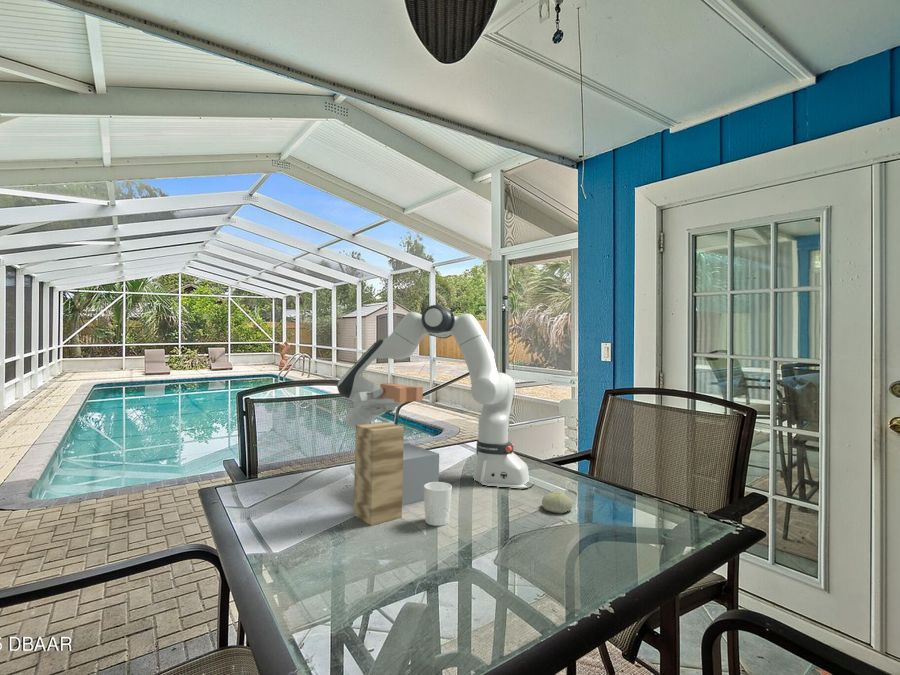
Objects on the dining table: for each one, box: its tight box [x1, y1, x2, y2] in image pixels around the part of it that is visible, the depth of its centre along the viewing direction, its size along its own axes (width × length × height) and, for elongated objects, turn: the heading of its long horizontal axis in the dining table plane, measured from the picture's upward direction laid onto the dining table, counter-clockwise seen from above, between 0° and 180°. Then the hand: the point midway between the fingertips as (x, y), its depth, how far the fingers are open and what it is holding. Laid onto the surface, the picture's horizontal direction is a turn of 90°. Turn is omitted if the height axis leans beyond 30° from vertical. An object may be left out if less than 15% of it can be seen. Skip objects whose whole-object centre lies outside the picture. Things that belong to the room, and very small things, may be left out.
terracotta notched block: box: [379, 382, 424, 403], centre depth 160 cm, size 16×9×4 cm, turn 39°
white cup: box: [423, 481, 453, 527], centre depth 134 cm, size 8×8×10 cm
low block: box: [402, 443, 440, 507], centre depth 157 cm, size 18×15×14 cm
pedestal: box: [353, 421, 405, 527], centre depth 137 cm, size 10×10×26 cm
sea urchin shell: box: [541, 491, 573, 514], centre depth 146 cm, size 9×8×8 cm
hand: (390, 389), depth 163 cm, fingers closed on terracotta notched block, 4 cm apart
